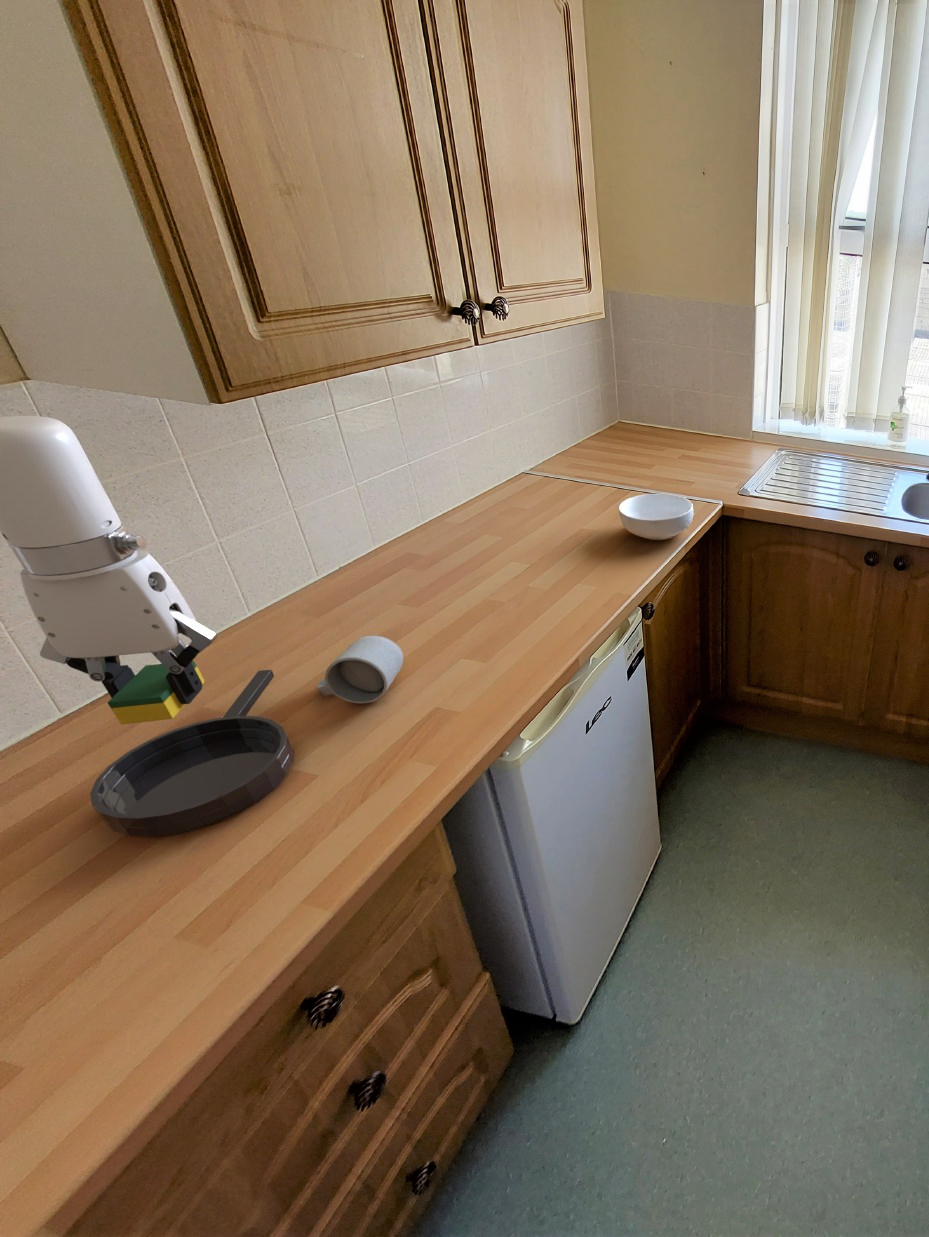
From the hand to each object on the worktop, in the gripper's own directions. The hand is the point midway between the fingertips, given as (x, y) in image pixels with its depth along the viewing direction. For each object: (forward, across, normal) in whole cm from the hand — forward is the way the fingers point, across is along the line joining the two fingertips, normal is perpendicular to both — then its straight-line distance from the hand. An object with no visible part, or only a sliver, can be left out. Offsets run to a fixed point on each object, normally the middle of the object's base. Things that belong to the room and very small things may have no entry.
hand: (162, 698), depth 71 cm
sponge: (+1, 0, 0) cm, 1 cm away
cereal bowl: (+14, -58, -70) cm, 92 cm away
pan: (+13, 0, 0) cm, 13 cm away
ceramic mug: (+13, -12, -17) cm, 24 cm away
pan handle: (+11, 0, -14) cm, 17 cm away
